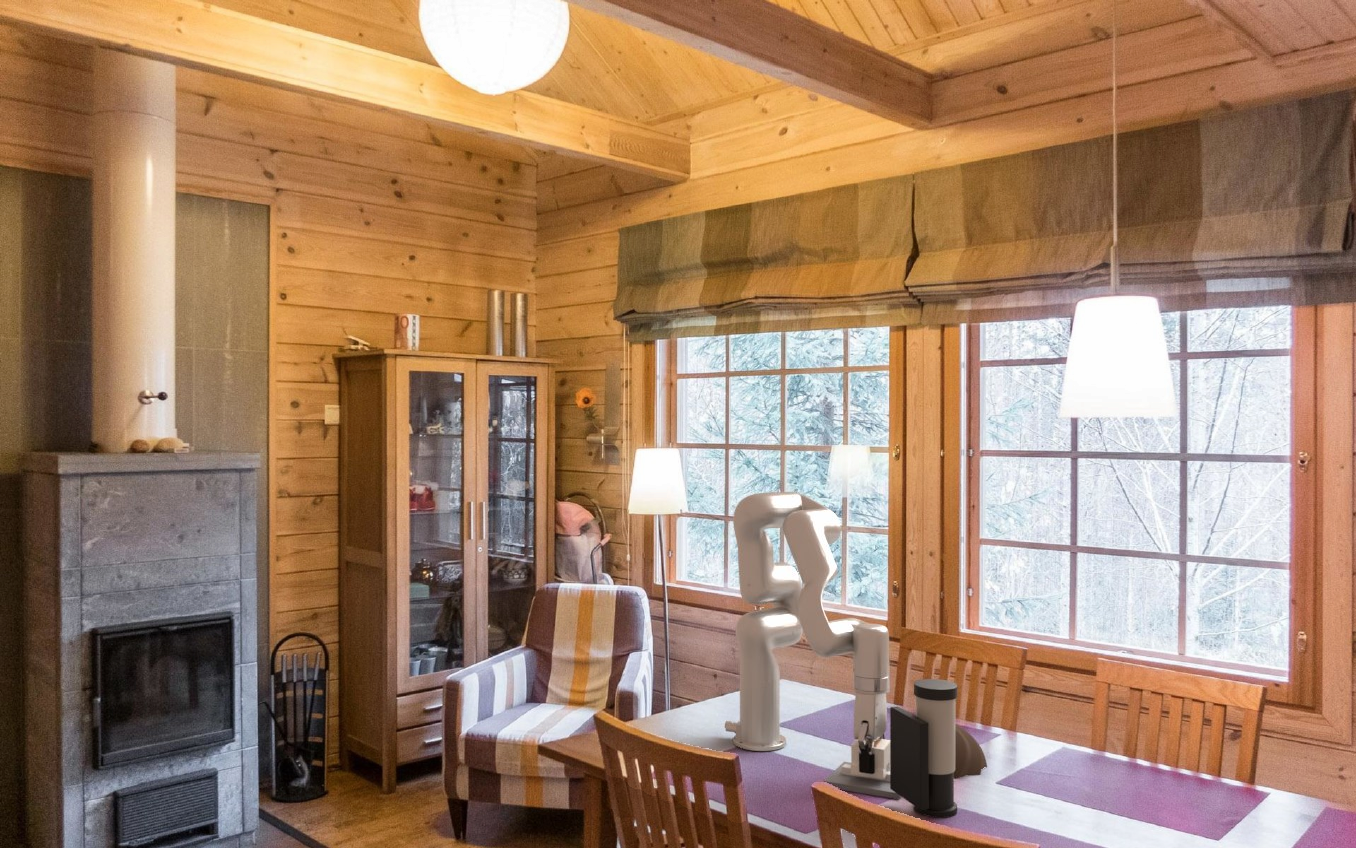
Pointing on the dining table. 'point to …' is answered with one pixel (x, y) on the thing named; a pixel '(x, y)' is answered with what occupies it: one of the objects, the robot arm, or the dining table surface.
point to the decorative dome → (967, 754)
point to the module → (881, 758)
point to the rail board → (861, 782)
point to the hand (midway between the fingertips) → (872, 766)
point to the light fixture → (925, 749)
